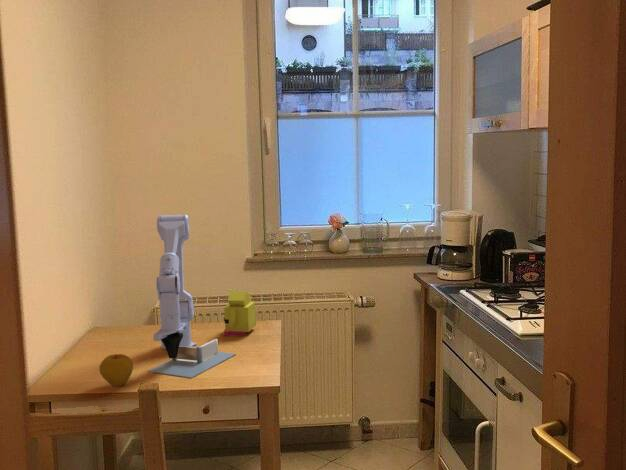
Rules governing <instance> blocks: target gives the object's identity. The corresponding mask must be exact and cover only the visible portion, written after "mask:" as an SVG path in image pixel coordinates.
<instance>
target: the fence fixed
mask: <svg viewBox="0 0 626 470" xmlns="http://www.w3.org/2000/svg"><path fill="white" fill-rule="evenodd" d="M195 347H196V349H197V363H202V360H203V359H205V358H207V357H209V356H211V355H213V354H218V352H219V344H218V339H217V338H214V339H212V340H211V341H208V342H206V343H204V344H202V345H200V346H195Z"/></svg>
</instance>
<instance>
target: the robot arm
mask: <svg viewBox="0 0 626 470" xmlns="http://www.w3.org/2000/svg"><path fill="white" fill-rule="evenodd" d="M189 218H190V217H189V216H188V215H187V214H186V213H185V214H169V215H167V214H165V215H161V214H160V215H158V216H157V218H156V229H157V233H158V235H159V237H160V240H161V241H163V245H164V249H163V250H164V252H163V253H164V254H163V255H161V257H160V260H159V261H160V262H159V272H158V273H159V274H158V276H157V277H156V285H155V286H156V291H157V292H156V293H157V298H158V301H159V313H160V329H159V330H158V331H157V332H155V333H153V341H157V342H161V346H159V348H161V349H165V351H166V353H167V357H168V358H169V359H172V358H173V359H174V358H176V357H177V354H178V349H179V346H191V347H195V346H196V345H198V343H197V342H193V341H192V331H191V320H192V319H193V318H194V316H195V306H194V297H193V296H192V294H190V293H189V292H188V291H186V290H185V279H184V275H185V274H184V249H183V248H184V243H185V241H187V240H189V239H190V219H189Z"/></svg>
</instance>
